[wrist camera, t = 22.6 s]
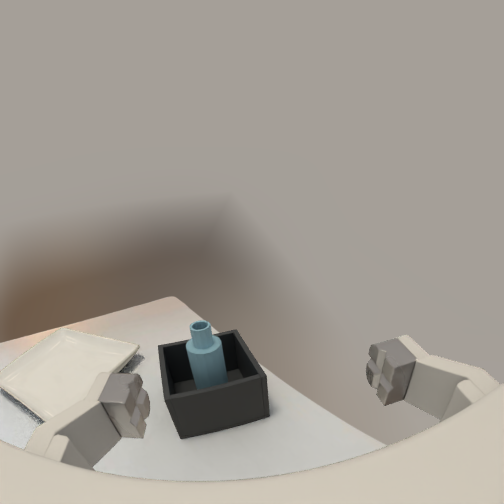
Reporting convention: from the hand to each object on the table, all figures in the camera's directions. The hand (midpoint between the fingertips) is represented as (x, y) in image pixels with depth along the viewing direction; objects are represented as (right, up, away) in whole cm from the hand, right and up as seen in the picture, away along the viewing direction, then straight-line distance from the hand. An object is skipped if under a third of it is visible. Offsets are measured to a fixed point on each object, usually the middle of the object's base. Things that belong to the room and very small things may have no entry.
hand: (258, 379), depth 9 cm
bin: (-6, -20, +32) cm, 38 cm away
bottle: (-6, -19, +32) cm, 38 cm away
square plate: (-39, -22, +35) cm, 56 cm away
